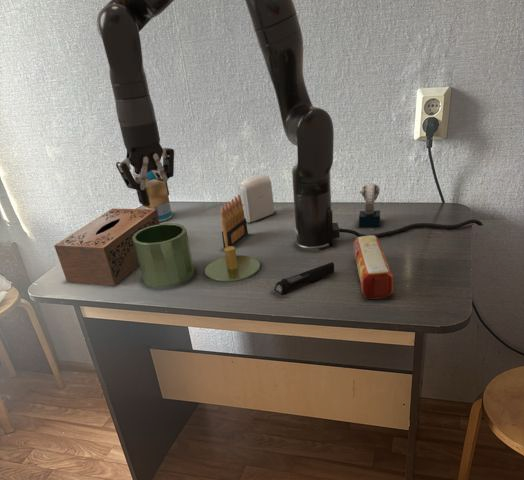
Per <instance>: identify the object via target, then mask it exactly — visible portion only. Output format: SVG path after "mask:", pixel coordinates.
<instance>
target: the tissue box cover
mask: <svg viewBox="0 0 524 480" xmlns="http://www.w3.org/2000/svg"><path fill="white" fill-rule="evenodd" d="M157 224H161V222H159V218H158V213H157V209H145V208H113V207H112V208H110V209H109V210H107V211H106V212H104V213H103V214H101V215H100V216H98V217H96V218H95V219H93V220H92V221H90V222H89V223H87V224H85V225H84V226H82V227H80V228H79V229H78V230H76V231H74V232H73V233H71V234H69V235H68V236H66V237H65V238H63V239H61V241H59V242H57V243H56V244H54V245H53V246H54V250H55V252H56V255H57V258H58V261H59V263H60V266H61V269H62V272H63V275H64V277H65V280H66V283H74V284H84V285H85V284H87V285H99V286H111V287H115V286H117V284H118V283H120V282H121V281H122V280H124V279H125V278H127V276H128V275H130V273H132V272H133V271H134V270H135V269H136V268H138V267H139V263H138V259H137V256H136V252H135V248H134V244H133V240H132V237H133V235H134V234H135V233H136V232H138V231H139V230H141V229H144V228H146V227H149V226H153V225H157Z"/></svg>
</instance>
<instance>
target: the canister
mask: <svg viewBox="0 0 524 480" xmlns="http://www.w3.org/2000/svg"><path fill="white" fill-rule="evenodd" d="M132 240H133V244H134V248H135V252H136V256H137V259H138V263H139V266H138V267H139V271H140V274H141V278H142V281H143V283H144V284H145V285H147V286H149V287H151V288H170V287H173V286H177V285H180V284H182V283H185V282H187V281H189V280H190V279H191V278H192V277H193V276H194V274H195V268H194V267H195V266H194V262H193V257H192V252H191V247H190V242H189V237H188V231H187V228H186V227H185V226H184V225H183V224H179V223H172V222H166V223H160V224H157V225H153V226H149V227H146V228H144V229H141V230H139V231H138V232H136V233H135V234H134V235H133V237H132Z"/></svg>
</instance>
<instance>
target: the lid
mask: <svg viewBox="0 0 524 480" xmlns="http://www.w3.org/2000/svg"><path fill="white" fill-rule="evenodd" d="M223 251H224V257H221V258H218V259H216V260H214V261H212V262H210V263H209V264H208V265H207V266H205V269H204V274H205V277H206V278H208V279H209V280H211V281H213V282H219V283H230V282H231V283H233V282H239V281H242V280H246V279H249V278H251V277H252V276H254V275H256V274H257V273H258V272H259V270H260V269H261V263H260V261H259V260H258V259H257V258H255V257H252V256H249V255H237V253H236V247H235V246H228V247H226V248H224V247H223Z"/></svg>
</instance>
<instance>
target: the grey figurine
mask: <svg viewBox="0 0 524 480" xmlns="http://www.w3.org/2000/svg"><path fill="white" fill-rule="evenodd" d="M360 189H361V190H359V194H361V196H362V198H363V200H364V201H365V203H364V210H360V211H359V214H358V228H359V229H360V228H361V229H362V228H364V229H365V228H367V229H369V228H380V227H381V210H375V203H376V202H375V201H377V199H378V196H379V195H380V189H381V188H380V185H378V184H377V183H373V182H372V183H371V182H370V183H365V184H363V186H362V187H361V188H360Z"/></svg>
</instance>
